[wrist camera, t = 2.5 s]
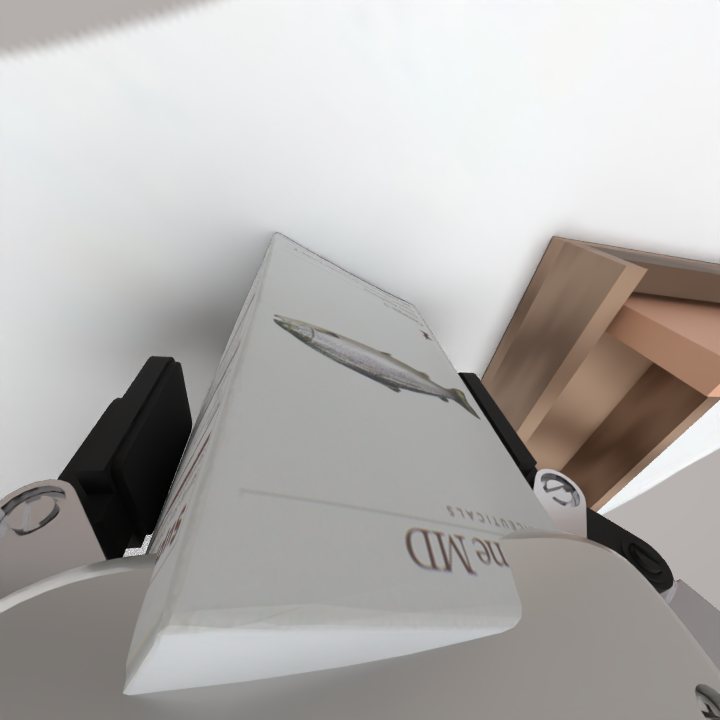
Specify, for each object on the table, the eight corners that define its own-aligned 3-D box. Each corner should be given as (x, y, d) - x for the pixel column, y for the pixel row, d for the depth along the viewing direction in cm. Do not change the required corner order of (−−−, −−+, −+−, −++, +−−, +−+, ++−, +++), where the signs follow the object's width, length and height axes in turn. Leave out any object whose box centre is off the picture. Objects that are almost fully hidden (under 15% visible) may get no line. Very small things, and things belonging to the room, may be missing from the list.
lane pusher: (692, 317, 17) (873, 402, 12) (562, 302, 15) (706, 396, 10) (709, 297, 16) (909, 377, 11) (575, 279, 15) (738, 365, 9)
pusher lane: (523, 509, 30) (576, 598, 24) (413, 516, 28) (443, 617, 22) (730, 266, 17) (955, 335, 11) (553, 236, 14) (725, 305, 8)
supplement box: (418, 303, 15) (646, 636, 5) (342, 405, 18) (392, 732, 8) (274, 222, 12) (146, 650, 2) (214, 361, 15) (47, 793, 5)
